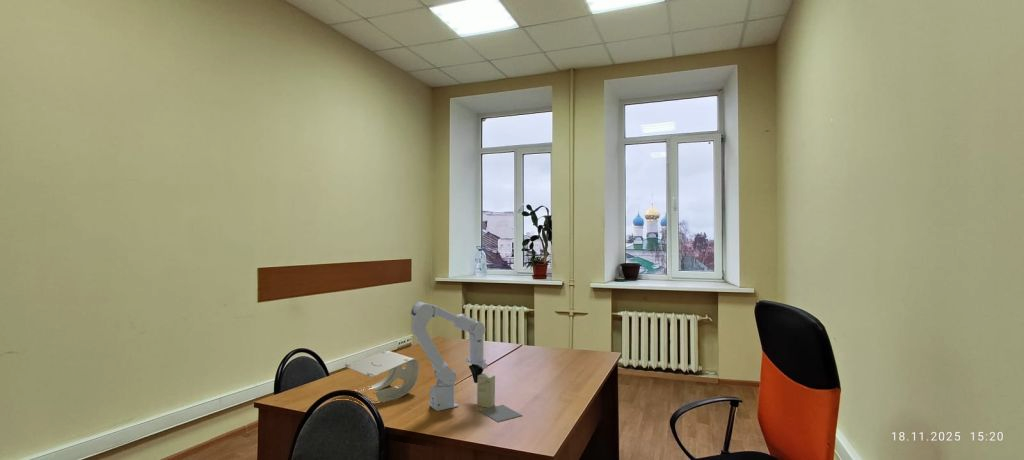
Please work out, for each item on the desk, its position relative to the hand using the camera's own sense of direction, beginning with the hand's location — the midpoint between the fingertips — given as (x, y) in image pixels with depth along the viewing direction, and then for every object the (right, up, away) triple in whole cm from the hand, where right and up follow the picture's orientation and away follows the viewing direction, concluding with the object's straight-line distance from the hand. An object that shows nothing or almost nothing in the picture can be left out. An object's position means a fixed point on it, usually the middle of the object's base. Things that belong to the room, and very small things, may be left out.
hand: (476, 382), depth 195 cm
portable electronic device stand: (-43, -9, +11) cm, 46 cm away
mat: (+10, -7, -16) cm, 20 cm away
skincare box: (+4, -7, -7) cm, 11 cm away
